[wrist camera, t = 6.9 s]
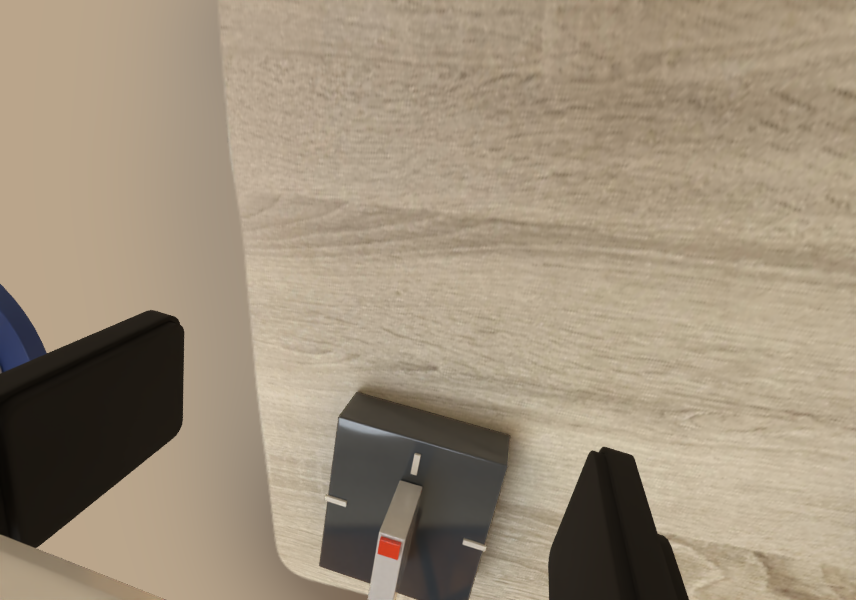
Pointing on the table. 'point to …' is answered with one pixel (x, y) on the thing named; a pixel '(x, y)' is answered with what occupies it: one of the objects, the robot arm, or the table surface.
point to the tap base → (440, 499)
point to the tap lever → (394, 542)
